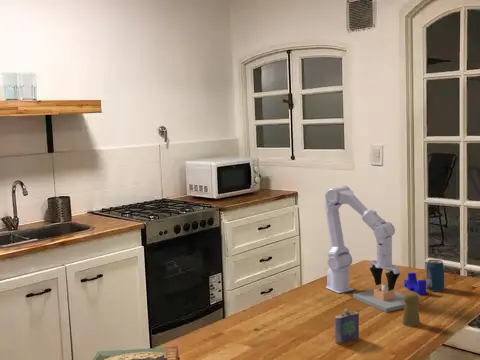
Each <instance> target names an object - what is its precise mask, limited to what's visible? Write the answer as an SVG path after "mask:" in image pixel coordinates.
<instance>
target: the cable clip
mask: <svg viewBox="0 0 480 360" xmlns="http://www.w3.org/2000/svg"><path fill="white" fill-rule="evenodd" d="M403 283H404V287H405V288H406V290H408V291H409V292H410V291H411V292H412V291H413V292H414V293H416V294H417V295H418V296H424V295H425V296H426V295H427V279H417V273H416V272H408V273H407V279H404V282H403Z"/></svg>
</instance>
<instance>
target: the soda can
mask: <svg viewBox="0 0 480 360" xmlns="http://www.w3.org/2000/svg"><path fill="white" fill-rule="evenodd" d="M444 288H445V265H444V262H443V260H440V259H429V260H428V262H427V264H426V289H427V290H429V291H431V292H441V291H443V290H444Z"/></svg>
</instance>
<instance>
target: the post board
mask: <svg viewBox="0 0 480 360" xmlns="http://www.w3.org/2000/svg"><path fill="white" fill-rule="evenodd" d="M381 288H382V292H383V293H384V292H388V283H387V284H386V283H385V284H384V283H383V284H382V283H381ZM403 297H404V294H402V293H399V292H397V291H395V298H393V299H389V300H385V301H383V300H380V299H378V298H376V297H374V289H370V290H364V291H361V292H355V293H353V294H352V298H353V299H355V300H357V301H360V302H362V303H364V304H366V305H369V306H371V307H373V308H376V309H378V310H380V311H382V312H384V313H390V312H393V311H398V310H402V309H404V307H405V301H404V299H403ZM417 305H418V306H419V301H418V303H417Z"/></svg>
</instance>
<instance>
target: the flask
mask: <svg viewBox="0 0 480 360" xmlns="http://www.w3.org/2000/svg"><path fill="white" fill-rule="evenodd" d="M359 315H360V313H359V312H357V311H349V310H348V308H344V309H343V313H341V314H339V315H336V316H334V333H335V334H334V336H335V337H334V339H335V341H334V343H335V344H337V345H342V344H343V345H344V344H345V343H350V342H353V341H356V340H359V336H360V333H359V332H360V331H359V329H360V326H359V323H360V321H359V320H360V316H359Z"/></svg>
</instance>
